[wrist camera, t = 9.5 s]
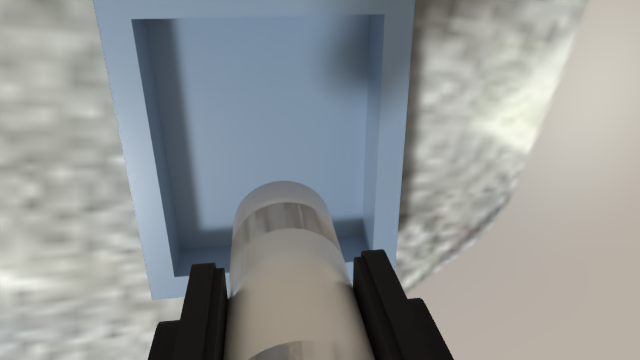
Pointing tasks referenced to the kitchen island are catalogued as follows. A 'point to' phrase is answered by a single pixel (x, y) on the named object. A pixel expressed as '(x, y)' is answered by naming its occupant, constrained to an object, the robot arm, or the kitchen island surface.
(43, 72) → the kitchen island surface
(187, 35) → the parts tray
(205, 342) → the robot arm
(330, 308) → the white rounded cylinder piece
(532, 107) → the kitchen island surface
